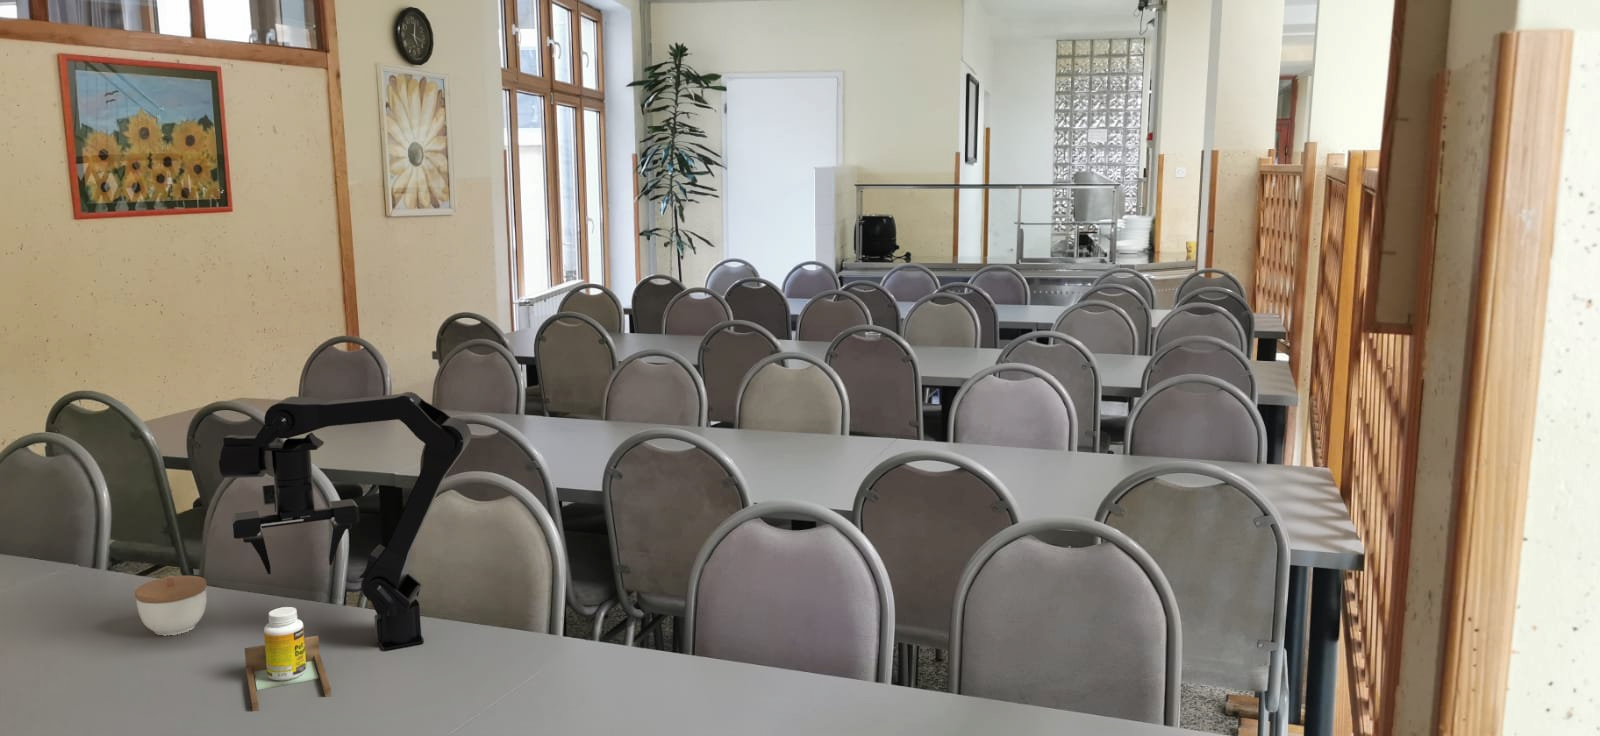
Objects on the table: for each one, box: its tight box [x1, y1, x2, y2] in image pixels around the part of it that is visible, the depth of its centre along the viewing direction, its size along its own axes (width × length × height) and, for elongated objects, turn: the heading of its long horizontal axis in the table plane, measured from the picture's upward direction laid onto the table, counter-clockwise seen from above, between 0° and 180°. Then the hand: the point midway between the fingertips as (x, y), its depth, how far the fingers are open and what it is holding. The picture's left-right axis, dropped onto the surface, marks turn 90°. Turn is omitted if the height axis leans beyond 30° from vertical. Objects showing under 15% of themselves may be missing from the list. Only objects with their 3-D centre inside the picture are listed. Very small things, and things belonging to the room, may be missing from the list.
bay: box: [244, 635, 332, 712], centre depth 177 cm, size 11×15×4 cm
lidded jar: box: [134, 575, 208, 637], centre depth 198 cm, size 11×11×9 cm
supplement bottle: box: [263, 606, 306, 681], centre depth 179 cm, size 6×6×10 cm
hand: (300, 568), depth 190 cm, fingers open, 9 cm apart
